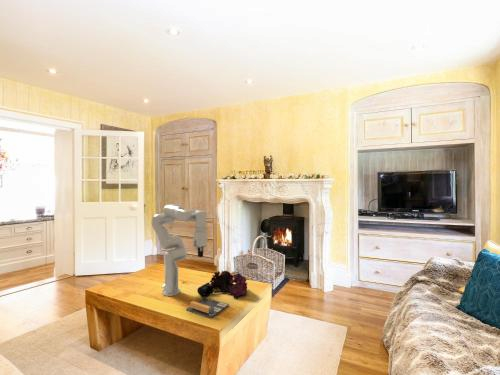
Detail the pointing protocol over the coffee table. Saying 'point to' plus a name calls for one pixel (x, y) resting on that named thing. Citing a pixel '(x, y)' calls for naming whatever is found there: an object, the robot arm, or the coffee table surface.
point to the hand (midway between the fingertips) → (200, 256)
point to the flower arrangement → (229, 284)
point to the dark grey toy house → (205, 290)
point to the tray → (217, 306)
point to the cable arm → (202, 307)
